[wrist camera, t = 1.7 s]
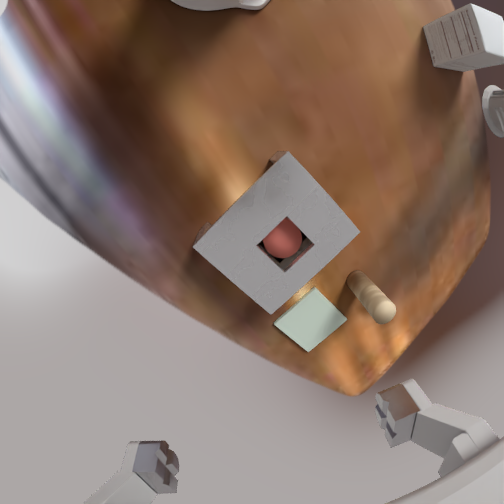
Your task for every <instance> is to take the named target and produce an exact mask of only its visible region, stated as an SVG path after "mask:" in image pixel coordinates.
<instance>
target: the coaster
mask: <svg viewBox="0 0 504 504" xmlns="http://www.w3.org/2000/svg"><path fill="white" fill-rule="evenodd" d="M346 320H347V318H346V317H345V316H344V315H343V314H342V313H341V312H340V311H339V310H338V309H337V308H336V307H335V306H334V305H333V304H332V303H331V302H330V301H329V300H328V299H327V298H326V297H325V296H324V295H323V294H322V293H321V292H320V291H319V290H318V289H317V288H316V287H315V286H314V287H313V288H312V289H311V290H310V291H309V292H308V293H306V294H305V295H304V296H303V297H302V298H301V299H300V300H299V301H298V302H296V303H295V304H294V305H293V306H292V307H291V308H290V309H288V310H287V311H286V312H285V313H284V314H283V315H282V316H280V317H279V318H278V319H277V320H276V321H275V322H274V325H275V326H277V327H278V328H279V329H280V330H281V331H283V332H284V333H285V334H286V335H288V336H289V337H290V338H291V339H292V340H294V341H295V342H296V343H297V344H299V345H300V346H301V347H302V348H304V349H305V350H306V351H307V352H309V351H310V350H312V349H313V348H314V347H315V346H317V345H318V344H319V343H320V342H322V341H323V340H324V339H325V338H326V337H328V336H329V335H330V334H331V333H332V332H333V331H335V330H336V329H337V328H338V327H339V326H340V325H342V324H343V323H344V322H345V321H346Z"/></svg>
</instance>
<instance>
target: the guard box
mask: <svg viewBox="0 0 504 504" xmlns="http://www.w3.org/2000/svg"><path fill="white" fill-rule="evenodd" d="M269 160H270V161H271V162H272V163H273V165H272V166H271V167H270V168H269V169H268V170H267V171H266V172H265V173H264V174H263V175H262V176H261V177H260V178H259V179H258V180H257V181H256V182H255V183H254V184H253V185H252V186H251V187H250V188H249V189H248V190H247V191H246V192H245V193H244V194H243V195H242V196H241V197H240V198H239V199H238V200H237V201H236V202H235V203H234V204H233V205H232V206H231V207H230V208H229V209H228V210H227V211H226V212H225V213H224V214H223V215H222V216H221V217H220V218H219V219H218V220H217V221H216V222H215V223H214V224H213V225H211V224H210V223H209V222H206V223H205V225H204V226H203V227H202V228H201V229H200V230H199V232H198V235H197V237H196V240H195V242H194V245H193V248H194V249H195V250H196V251H198V252H199V253H200V254H201V255H202V256H203V257H204V258H206V259H207V260H208V261H209V262H210V263H211V264H212V265H213V266H215V267H216V268H217V269H218V270H219V271H220V272H221V273H223V274H224V275H225V276H226V277H227V278H228V279H230V280H231V281H232V282H233V283H234V284H235V285H236V286H238V287H239V288H240V289H241V290H242V291H243V292H245V293H246V294H247V295H248V296H249V297H250V298H252V299H253V300H254V301H255V302H256V303H258V304H259V305H260V306H261V307H262V308H263V309H265V310H266V311H267V312H268V313H269V314H272V313H273V312H275V311H276V310H277V309H278V308H279V307H280V306H281V305H283V304H284V303H285V302H286V301H287V300H288V299H289V298H290V297H292V296H293V295H294V294H295V293H296V292H297V291H298V290H299V289H300V288H301V287H303V286H304V285H305V284H306V283H307V282H308V281H309V280H310V279H311V278H312V277H313V276H315V275H316V274H317V273H318V272H319V271H320V270H321V269H322V268H323V267H324V266H325V265H326V264H327V263H329V262H330V261H331V260H332V259H333V258H334V257H335V256H336V255H337V254H338V253H339V252H340V251H341V250H342V249H343V248H344V247H345V246H346V245H347V244H348V243H349V242H350V241H352V240H353V239H354V238H355V237H356V236H357V235H358V234H359V233H360V231H359V230H358V229H357V227H356V226H355V225H354V224H353V223H352V221H351V220H350V219H349V218H348V217H347V216H346V214H345V213H344V212H343V211H342V210H341V209H340V207H339V206H338V205H337V204H336V203H335V202H334V201H333V199H332V198H331V197H330V196H329V195H328V194H327V193H326V191H325V190H324V189H323V188H322V187H321V186H320V185H319V184H318V183H317V181H316V180H315V179H314V178H313V177H312V176H311V175H310V174H309V173H308V172H307V171H306V170H305V168H304V167H303V166H302V165H301V164H300V163H299V162H298V161H297V160H296V159H295V158H294V157H293V156H292V155H291V154H290V153H289V152H288V151H277V152H276V153H275V154H274V155H273V156H272V157H271V158H270V159H269ZM286 216H287V217H288V218H289V219H290V220H291V221H292V222H293V223H294V224H295V225H296V226H297V227H298V228H299V229H300V230H301V231H300V232H301V235H302V243H301V246H300V248H299V249H298V251H297V252H296V253H295V254H293V255H292V256H290V257H287V258H277V257H274V256H272V255H271V254H269V253H268V251H267V250H266V248H265V246H264V243H263V241H262V240H263V239H264V238H265V237H266V236H267V235H268V234H269V233H270V232H271V231H272V230H273V229H274V228H275V227H276V226H277V225H278V224H279V223H280V222H281V221H282V220H283V219H284V218H285V217H286ZM305 249H306V250H305ZM304 250H305V251H304ZM303 251H304V252H303ZM302 252H303V253H302ZM301 253H302V254H301ZM300 254H301V255H300ZM299 255H300V256H299ZM298 256H299V257H298ZM297 257H298V258H297ZM288 265H289V266H288ZM287 266H288V267H287ZM286 267H287V268H286ZM285 268H286V269H285ZM284 269H285V270H284Z"/></svg>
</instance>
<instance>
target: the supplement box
mask: <svg viewBox="0 0 504 504" xmlns="http://www.w3.org/2000/svg"><path fill="white" fill-rule="evenodd" d="M423 29H424V32H425V36H426V39H427V43H428V47H429V51H430V55H431V58H432V62H433V66H434V67H439V68H445V69H451V70H457V71H463V72H465V71H469V70H474V69H478V68H484V67H489V66H494V65H500V64H504V21H503V19H502V17H501V16H499V15H497V14H495V13H492V12H490V11H488V10H486V9H483V8H481V7H478V6H476V5H474V4H471V3H470V4H468V5H466V6H464V7H461V8H459V9H457V10H455V11H453V12H451V13H449V14H446V15H444V16H442V17H440V18H438V19H436V20H434V21H432V22H430V23H429V24H427V25H425V26H423Z"/></svg>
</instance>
